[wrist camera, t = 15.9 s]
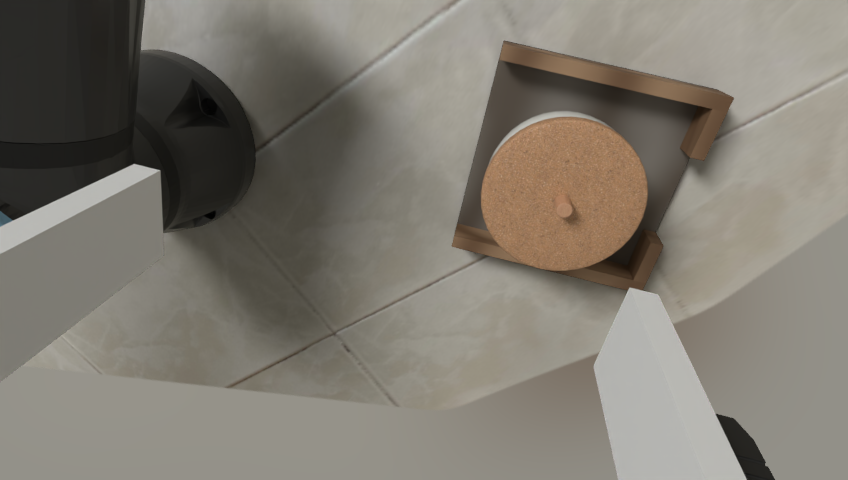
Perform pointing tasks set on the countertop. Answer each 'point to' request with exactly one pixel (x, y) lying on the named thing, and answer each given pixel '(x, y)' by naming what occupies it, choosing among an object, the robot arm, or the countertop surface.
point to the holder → (617, 107)
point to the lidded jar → (563, 191)
